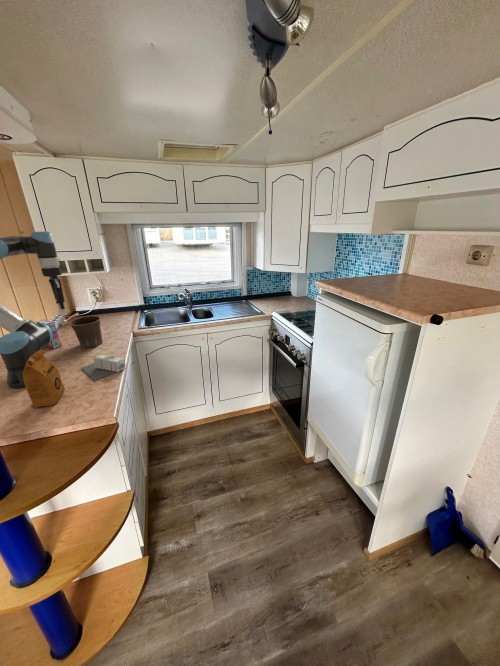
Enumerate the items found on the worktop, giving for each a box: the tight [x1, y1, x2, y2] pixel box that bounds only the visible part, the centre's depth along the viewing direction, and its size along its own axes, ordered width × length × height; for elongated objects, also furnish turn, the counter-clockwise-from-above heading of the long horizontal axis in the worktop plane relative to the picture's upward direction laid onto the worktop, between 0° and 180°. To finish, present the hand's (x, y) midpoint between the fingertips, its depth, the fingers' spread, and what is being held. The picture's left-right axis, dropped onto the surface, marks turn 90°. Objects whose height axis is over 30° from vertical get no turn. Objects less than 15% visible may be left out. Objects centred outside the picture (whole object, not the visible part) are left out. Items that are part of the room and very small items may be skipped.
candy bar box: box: [35, 319, 62, 350], centre depth 164 cm, size 11×5×16 cm, turn 62°
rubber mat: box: [81, 363, 116, 382], centre depth 138 cm, size 10×18×1 cm, turn 48°
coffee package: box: [23, 348, 66, 409], centre depth 112 cm, size 10×12×22 cm
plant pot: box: [69, 315, 104, 349], centre depth 165 cm, size 16×16×16 cm
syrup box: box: [93, 353, 126, 373], centre depth 138 cm, size 6×6×14 cm
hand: (64, 314), depth 134 cm, fingers closed
